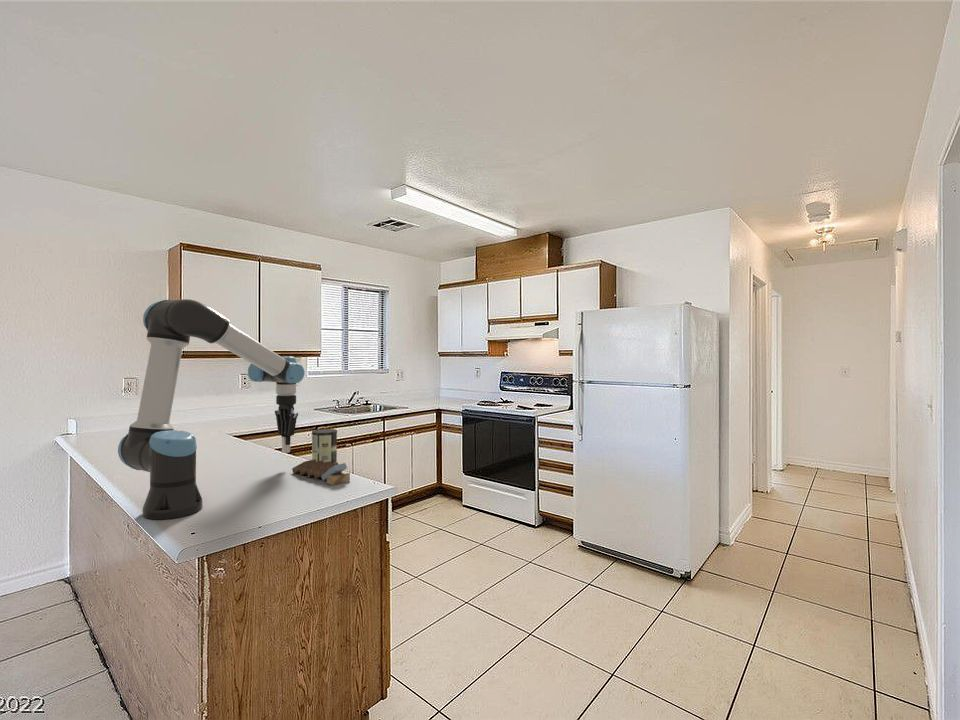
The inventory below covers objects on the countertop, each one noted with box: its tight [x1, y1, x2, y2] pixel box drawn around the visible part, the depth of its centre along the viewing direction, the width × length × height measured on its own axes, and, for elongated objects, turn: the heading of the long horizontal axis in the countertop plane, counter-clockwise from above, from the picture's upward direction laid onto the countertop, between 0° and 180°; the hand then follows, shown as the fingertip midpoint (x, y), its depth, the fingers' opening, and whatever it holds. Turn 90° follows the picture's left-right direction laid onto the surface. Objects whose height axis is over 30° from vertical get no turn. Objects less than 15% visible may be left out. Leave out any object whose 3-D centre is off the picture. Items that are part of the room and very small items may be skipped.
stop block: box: [326, 471, 351, 486], centre depth 179 cm, size 8×3×3 cm, turn 145°
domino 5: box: [321, 462, 348, 481], centre depth 180 cm, size 2×5×9 cm
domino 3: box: [306, 461, 331, 478], centre depth 185 cm, size 2×5×9 cm
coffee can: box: [311, 428, 338, 464], centre depth 207 cm, size 10×10×14 cm
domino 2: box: [298, 461, 324, 476], centre depth 187 cm, size 2×5×9 cm
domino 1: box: [291, 459, 316, 474], centre depth 190 cm, size 2×5×9 cm
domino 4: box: [313, 461, 339, 480], centre depth 182 cm, size 2×5×9 cm
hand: (286, 452), depth 197 cm, fingers closed
